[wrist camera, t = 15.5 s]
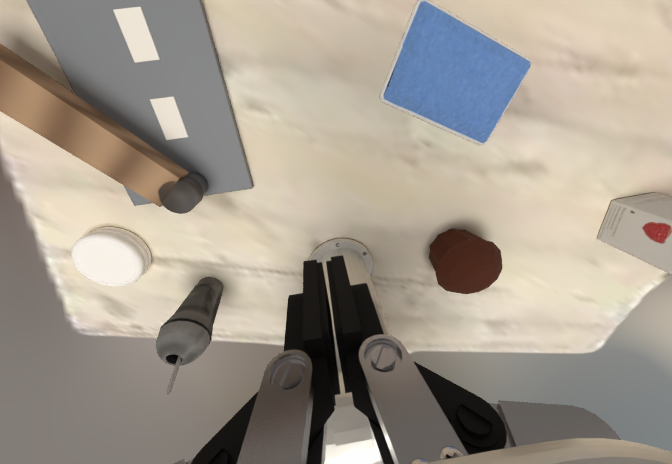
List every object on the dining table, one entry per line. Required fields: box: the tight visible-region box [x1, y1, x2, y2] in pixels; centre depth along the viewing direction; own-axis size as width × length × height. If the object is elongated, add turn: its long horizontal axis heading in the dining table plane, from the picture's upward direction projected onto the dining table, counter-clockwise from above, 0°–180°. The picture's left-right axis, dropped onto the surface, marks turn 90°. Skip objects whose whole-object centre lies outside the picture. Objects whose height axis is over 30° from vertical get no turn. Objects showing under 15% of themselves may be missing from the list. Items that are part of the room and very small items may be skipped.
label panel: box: [26, 0, 254, 206], centre depth 32 cm, size 26×18×4 cm
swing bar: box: [0, 44, 203, 214], centre depth 30 cm, size 26×5×3 cm, turn 48°
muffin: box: [429, 229, 502, 294], centre depth 46 cm, size 12×11×10 cm
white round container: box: [71, 227, 151, 287], centre depth 42 cm, size 10×10×4 cm
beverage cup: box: [156, 277, 223, 395], centre depth 40 cm, size 7×7×20 cm
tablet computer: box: [379, 0, 532, 145], centre depth 37 cm, size 19×13×1 cm, turn 69°
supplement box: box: [597, 192, 672, 275], centre depth 45 cm, size 9×9×15 cm
